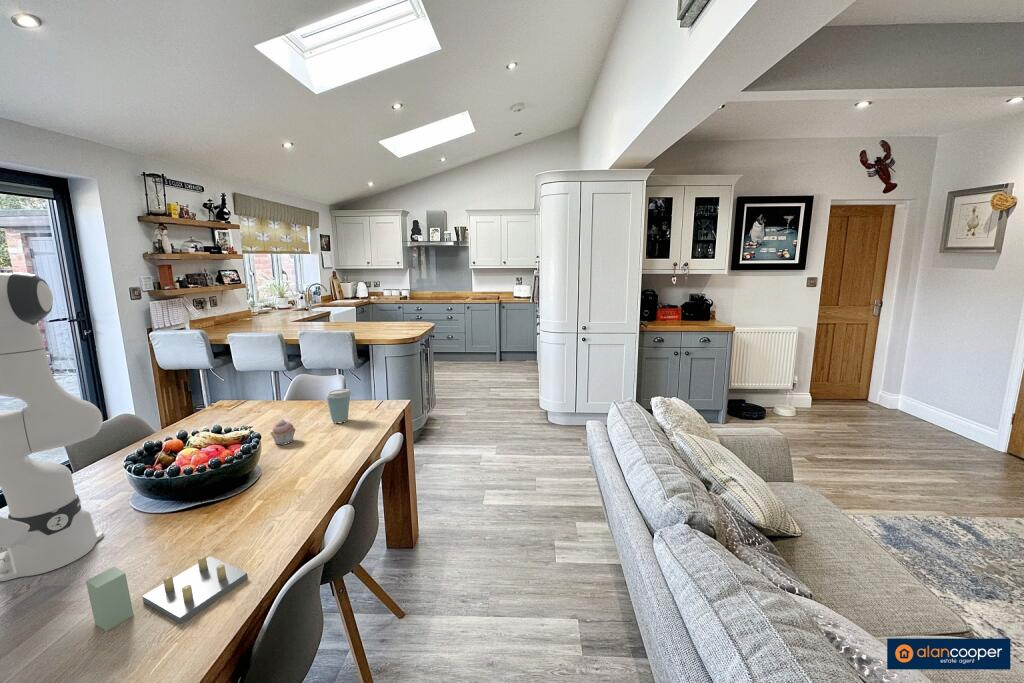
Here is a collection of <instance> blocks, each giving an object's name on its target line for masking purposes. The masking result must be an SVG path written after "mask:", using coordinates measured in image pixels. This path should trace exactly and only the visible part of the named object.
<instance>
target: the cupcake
mask: <svg viewBox="0 0 1024 683" xmlns="http://www.w3.org/2000/svg"><path fill="white" fill-rule="evenodd" d="M296 431H297V429H296V427H294V425H293V424H292V423H291V422H290V421H286V420H284V418H281V419H279V420H277V422H276V423H275V425H274V426H273V427H272V431H271V432H270V436H271V437H272V438H273V440H274V443H275V445H277V444H285V443H288V442H291V441H292V440H293V441H294V435H295V433H296ZM293 441H292V442H293ZM292 442H291V443H292ZM285 445H286V444H285Z"/></svg>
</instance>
